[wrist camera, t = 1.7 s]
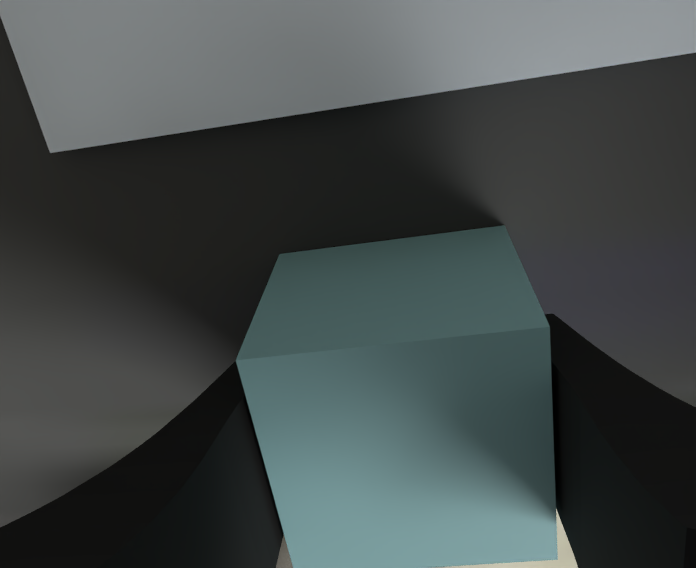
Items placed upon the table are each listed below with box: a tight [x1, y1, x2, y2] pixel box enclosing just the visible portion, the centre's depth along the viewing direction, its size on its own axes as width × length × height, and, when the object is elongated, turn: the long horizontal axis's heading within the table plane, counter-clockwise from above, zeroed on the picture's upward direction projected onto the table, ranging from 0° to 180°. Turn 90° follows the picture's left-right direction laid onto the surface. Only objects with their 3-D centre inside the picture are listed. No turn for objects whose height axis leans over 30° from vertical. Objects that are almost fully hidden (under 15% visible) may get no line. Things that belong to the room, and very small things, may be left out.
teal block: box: [236, 225, 558, 568], centre depth 12 cm, size 4×4×4 cm
